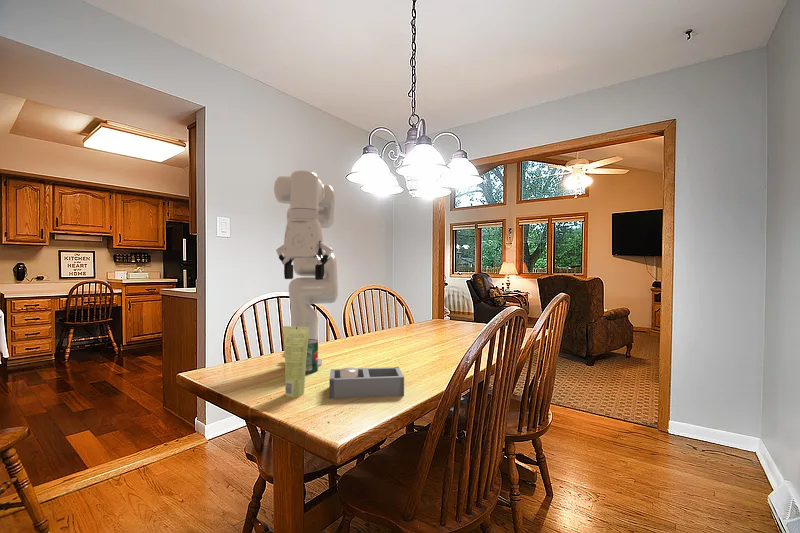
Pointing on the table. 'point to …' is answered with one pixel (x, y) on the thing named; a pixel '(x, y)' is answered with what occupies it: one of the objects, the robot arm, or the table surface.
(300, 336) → the tube
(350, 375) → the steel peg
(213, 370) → the table surface
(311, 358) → the canned tomato
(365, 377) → the rack
